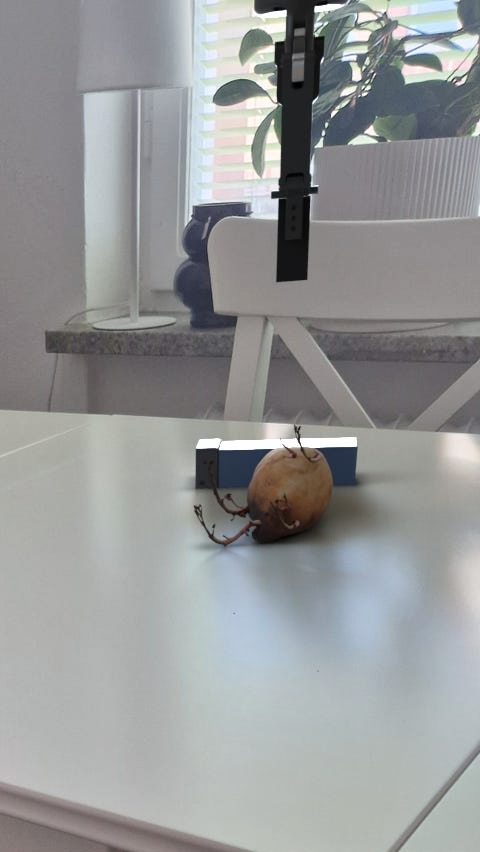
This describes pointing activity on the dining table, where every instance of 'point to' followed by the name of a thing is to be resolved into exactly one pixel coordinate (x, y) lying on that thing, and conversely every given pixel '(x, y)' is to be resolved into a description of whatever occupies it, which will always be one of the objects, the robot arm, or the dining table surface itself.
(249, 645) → the dining table surface
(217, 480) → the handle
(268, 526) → the vegetable
